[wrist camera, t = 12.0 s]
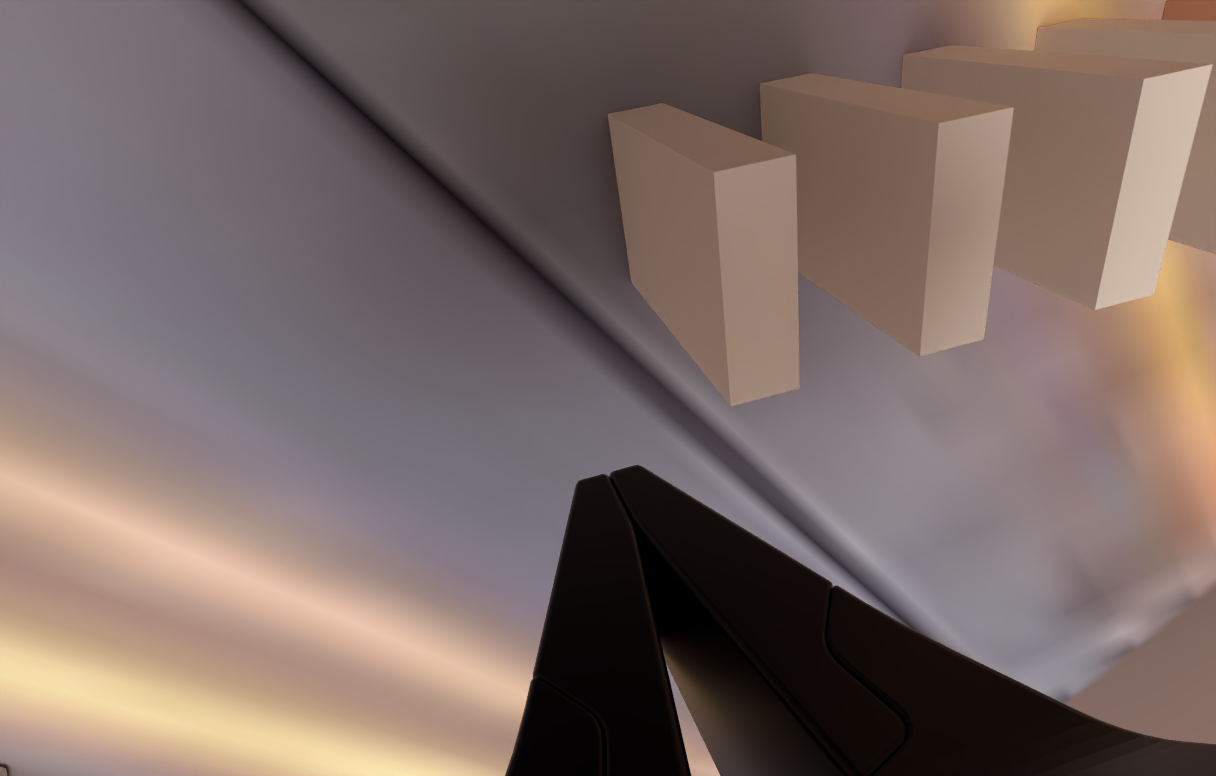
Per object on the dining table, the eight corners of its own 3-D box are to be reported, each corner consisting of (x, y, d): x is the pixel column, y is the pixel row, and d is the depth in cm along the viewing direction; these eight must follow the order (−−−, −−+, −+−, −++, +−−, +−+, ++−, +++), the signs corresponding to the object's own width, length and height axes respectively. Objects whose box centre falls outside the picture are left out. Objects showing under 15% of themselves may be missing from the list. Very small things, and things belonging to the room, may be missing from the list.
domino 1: (607, 114, 20) (713, 172, 13) (662, 103, 20) (795, 154, 13) (631, 282, 22) (730, 406, 15) (679, 270, 22) (799, 388, 16)
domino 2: (759, 83, 20) (938, 123, 13) (811, 73, 20) (1013, 106, 14) (766, 250, 23) (919, 356, 16) (812, 239, 23) (983, 339, 16)
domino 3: (902, 55, 21) (1144, 78, 14) (951, 44, 21) (1212, 64, 14) (893, 220, 23) (1094, 309, 17) (937, 210, 24) (1154, 294, 17)
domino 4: (1037, 27, 21) (1332, 38, 15) (1083, 18, 22) (1394, 24, 15) (1015, 192, 24) (1257, 267, 17) (1056, 182, 24) (1312, 251, 17)
